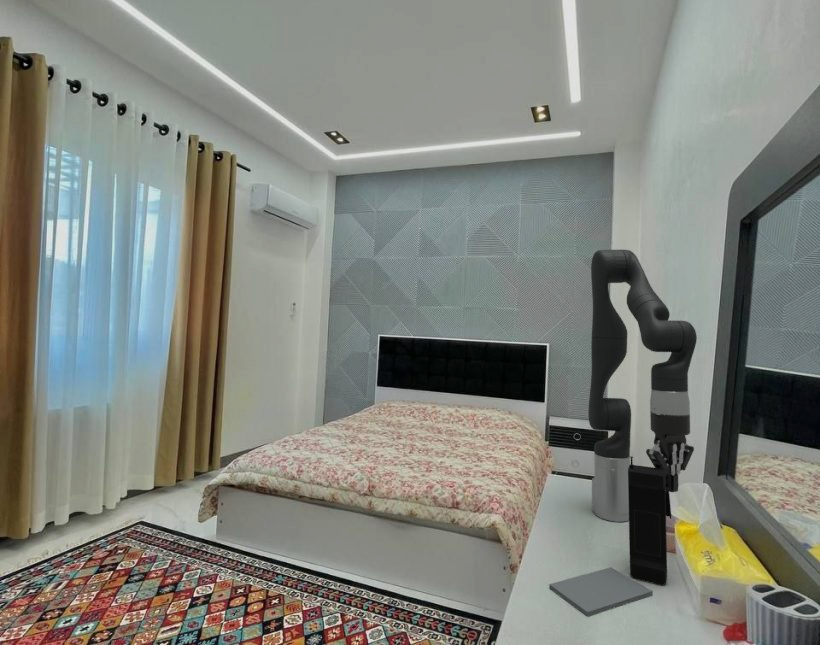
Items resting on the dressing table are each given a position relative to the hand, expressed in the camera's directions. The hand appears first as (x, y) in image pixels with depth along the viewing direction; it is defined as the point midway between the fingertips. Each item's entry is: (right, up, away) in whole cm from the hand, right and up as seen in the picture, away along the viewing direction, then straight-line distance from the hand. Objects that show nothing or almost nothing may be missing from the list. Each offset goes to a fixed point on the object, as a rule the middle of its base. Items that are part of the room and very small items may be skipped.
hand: (671, 490), depth 98 cm
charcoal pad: (-19, -17, -9) cm, 27 cm away
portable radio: (-6, -17, -3) cm, 18 cm away
